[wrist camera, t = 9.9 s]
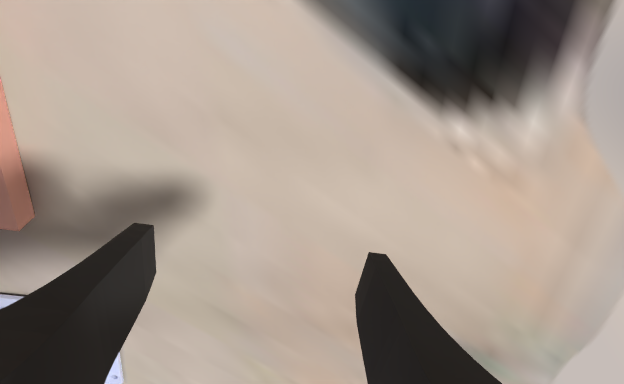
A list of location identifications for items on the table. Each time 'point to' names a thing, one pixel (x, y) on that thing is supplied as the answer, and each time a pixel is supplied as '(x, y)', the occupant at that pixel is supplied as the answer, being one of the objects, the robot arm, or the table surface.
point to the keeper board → (12, 176)
